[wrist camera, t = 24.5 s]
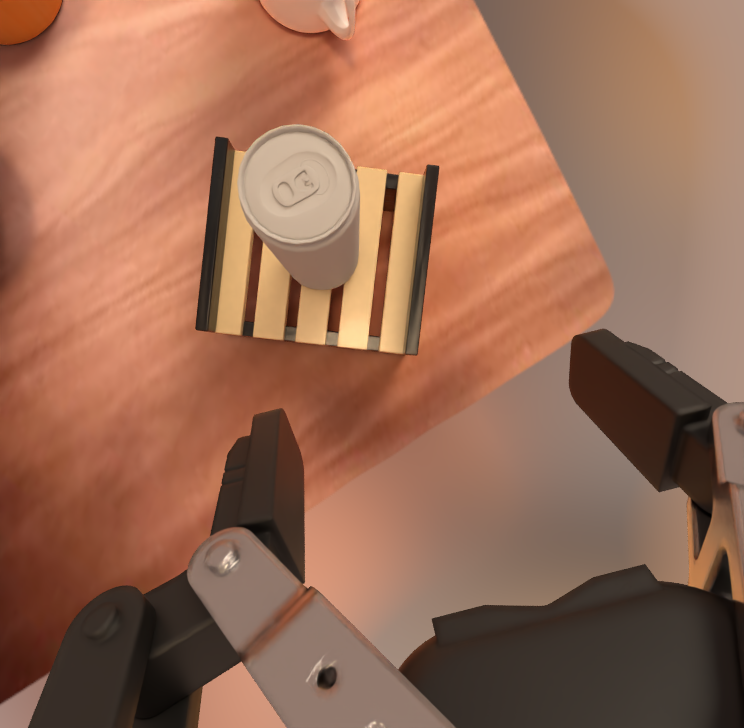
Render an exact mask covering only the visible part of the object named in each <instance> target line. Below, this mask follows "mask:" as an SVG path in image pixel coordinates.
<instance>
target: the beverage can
mask: <svg viewBox="0 0 744 728" xmlns="http://www.w3.org/2000/svg"><path fill="white" fill-rule="evenodd" d="M237 186H238V194H239V199H240V204H241V208H242V210H243V213H244V215H245V218H246V220H247V222H248V223H249V224H250V226H251V227H252V228H253V230H254V231H255V232H256V234H257V235H258V236H259V237H260V239H261V240H262V241H263V242H264V243H265V245H266V246H267V247H268V248H269V249H270V251H271V252H272V253H273V254H274V255H275V257H276V258H277V259H278V260H279V261H280V263H281V264H282V265H283V266H284V267H285V269H286V270H287V271H288V272H289V273H290V275H291V276H292V277H293V278H294V279H295V280H296V281H297V282H299V283H300V284H301V285H303V286H306V287H308V288H311V289H318V290H328V289H333V288H336V287H339V286H341V285H342V284H344V283H345V282H347V281H348V280H349V278H350V277H351V276H352V275H353V273H354V271H355V269H356V266H357V263H358V257H359V225H360V189H359V180H358V176H357V173H356V171H355V168H354V165H353V163H352V161H351V159H350V157H349V155H348V154H347V152H346V151H345V150H344V148H343V147H342V146H341V144H340V143H339V142H338V141H336V140H335V139H334V138H333V137H332V136H330V135H329V134H328V133H326V132H324V131H321V130H319V129H317V128H315V127H311V126H305V125H300V124H295V125H285V126H280V127H278V128H275V129H272V130H270V131H267V132H266V133H265V134H263V135H262V136H261V137H259V138H258V139H257V140H255V141H254V143H253V144H252V145H251V146H250V148H249V149H248V150H247V151H246V153H245V155H244V157H243V160H242V162H241V164H240V167H239V173H238V180H237Z"/></svg>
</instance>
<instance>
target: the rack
mask: <svg viewBox="0 0 744 728" xmlns="http://www.w3.org/2000/svg"><path fill="white" fill-rule="evenodd" d="M245 153H246V152H244V151H236V150H235V149H234V148H233V146H232V144H231V143H230V141H229V139H228V138H223V137H216V138H215V147H214V157H213V166H212V175H211V185H210V194H209V204H208V213H207V223H206V232H205V242H204V251H203V261H202V270H201V280H200V289H199V299H198V308H197V318H196V327H195V329H196V330H199V331H206V332H213V333H220V334H226V335H235V336H244V337H252V338H261V339H270V340H278V341H287V342H296V343H305V344H313V345H322V346H331V347H340V348H348V349H357V350H366V351H374V352H383V353H392V354H401V355H417V354H418V346H419V338H420V329H421V321H422V312H423V303H424V295H425V286H426V278H427V269H428V260H429V252H430V243H431V235H432V226H433V217H434V209H435V200H436V192H437V183H438V175H439V166H436V165H427V166H426V169H425V172H424V174H423V175H419V174H411V173H404V172H399V175H394V174H387V170H382V169H375V168H367V167H360V166H358V167H357V170H356V169H355V171H356V173H357V176H358V180H359V189H360V225H359V257H358V263H357V266H356V269H355V271H354V273H353V275H352V276H351V277H350V278H349V280H348V281H347V282H345V283H344V289H343V298H342V307H341V316H340V325H339V332H334V331H327V329H328V320H329V312H330V303H331V294H332V289H328V290H318V289H311V288H308V287H306V286H303V285H301V293H300V302H299V311H298V320H297V327H291V326H286V323H287V314H288V305H289V295H290V286H291V277H292V276H291V275H290V273H289V272H288V271H287V270H286V269H285V267H284V266H283V265H282V264H281V263H280V261H279V260H278V259H277V258H276V257H275V255H274V254H273V253H272V252H271V251H270V249H269V248H268V247H267V246H266V245H265V243H264V242H263V247H262V257H261V266H260V275H259V284H258V293H257V303H256V312H255V321H254V322H248V321H245V312H246V303H247V293H248V284H249V275H250V266H251V256H252V247H253V238H254V230H253V228H252V227H251V226H250V224H249V223H248V222H247V220H246V218H245V215H244V213H243V210H242V208H241V204H240V199H239V194H238V186H237V180H238V173H239V167H240V164H241V162H242V160H243V157H244V155H245ZM383 210H386V211H394V218H393V227H392V236H391V244H390V253H389V262H388V270H387V279H386V288H385V297H384V305H383V314H382V323H381V332H380V337H377V336H369V326H370V317H371V309H372V300H373V291H374V282H375V274H376V265H377V256H378V247H379V238H380V230H381V221H382V212H383Z"/></svg>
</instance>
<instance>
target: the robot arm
mask: <svg viewBox="0 0 744 728" xmlns="http://www.w3.org/2000/svg"><path fill="white" fill-rule="evenodd" d="M569 388H570V392H571V395H572V397H573V399H574V401H575V402H576V404H577V405H578V406H579V407H580V408H581V409H582V410H583V411H584V412H585V413H586V414H587V416H589V418H590V419H591V420H592V421H593V422H594V423H595V424H596V425H597V426H598V427H599V428H600V430H601V431H602V432H603V433H604V434H605V435H606V436H607V437H608V438H609V439H610V440H611V441H612V442H613V443H614V444H615V446H616V447H617V448H618V449H619V450H620V451H621V452H622V453H623V454H624V455H625V456H626V457H627V459H628V460H629V461H630V462H631V463H632V464H633V465H634V466H635V467H636V468H637V469H638V470H639V471H640V472H641V474H642V475H643V476H645V478H646V479H647V480H648V481H649V482H650V483H651V484H652V485H653V486H654V488H655V489H657V491H658V492H662V491H666V490H669V489H673V488H677V487H680V488H681V489H682V490H683V491H684V492H685V493H686V494H687V495H688V501H687V525H688V551H689V580H688V585H684V584H679V583H672V582H664V581H657V579H656V578H655V577H654V575H653V574H652V573H651V571H650V570H649V569H648V567H647V566H646V565H645V564H644V565H640V566H636V567H632V568H628V569H624V570H620V571H616V572H612V573H608V574H605V575H601V576H597V577H593V578H591V579H590V580H588V581H586V582H585V583H583V584H582V585H580V586H579V587H577V588H575V589H573V590H572V591H570V592H568V593H567V594H565V595H564V596H562V597H560V598H559V599H557V600H556V601H554V602H552V603H550V604H548V605H545V606H503V605H500V606H499V605H498V606H497V605H483V606H479V607H475V608H472V609H468V610H464V611H460V612H456V613H452V614H448V615H444V616H440V617H437V618H433V619H432V622H433V627H434V631H435V636H434V637H432V638H430V639H429V640H427V641H425V642H424V643H423V644H422V645H421V646H419V647H418V648H417V649H416V650H414V651H413V653H412V654H411V655H410V656H409V657H408V658H407V659H406V660H405V661H404V663H403V664H402V665H401V667H400V668H399V669H396V667H394V666H393V664H392V663H391V662H390V661H389V660H388V659H386V658H385V657H384V655H382V654H381V653H380V651H379V650H378V649H377V648H376V647H375V646H374V645H372V643H370V641H369V640H368V639H367V638H365V636H364V635H363V634H362V633H361V632H360V631H359V630H357V628H356V627H355V626H354V625H353V624H351V622H350V621H349V620H348V619H347V618H346V617H345V616H343V615H342V613H341V612H339V610H338V609H336V608H335V607H334V606H333V605H332V604H331V603H330V602H329V601H328V600H327V599H326V598H325V597H324V596H323V595H322V594H321V593H320V592H319V591H318V590H316V589H315V588H314V587H311V586H310V587H309V588H306V587H305V586H304V585H303V584H304V583H305V546H304V545H305V544H304V543H305V542H304V541H305V537H304V466H303V460H302V456H301V452H300V449H299V447H298V444H297V442H296V439H295V436H294V434H293V431H292V429H291V426H290V424H289V421H288V418H287V416H286V413H285V411H284V410H283V409H282V408H280V409H276V410H272V411H268V412H264V413H260V414H256V415H254V417H253V422H252V428H251V435H249V436H245V437H241V438H238V440H237V441H236V443H235V444H234V446H233V447H232V448H231V450H230V451H229V453H228V455H227V460H226V465H225V469H224V470H225V473H224V474H223V479H222V486H221V488H220V492H219V497H218V502H217V506H216V511H215V516H214V520H213V525H212V530H211V534H210V537H209V538H208V539H206V540H205V541H204V542H203V543H202V544H201V545H200V546H199V547H198V548H197V550H196V551H195V553H194V554H193V556H192V558H191V560H190V562H189V565H188V569H187V570H185V571H184V572H183V573H181V574H180V575H178V576H177V577H175V578H173V579H171V580H170V581H168V582H166V583H164V584H162V585H160V586H159V587H157V588H155V589H153V590H151V591H149V592H148V593H146V594H144V595H143V594H142V593H141V592H140V591H139V590H138V589H137V588H135V587H133V586H119V587H115V588H112V589H110V590H108V591H106V592H104V593H102V594H100V595H99V596H97V597H96V598H94V599H93V600H92V601H91V602H89V603H88V604H87V605H86V606H85V607H84V608H83V609H82V610H81V611H80V612H79V613H78V615H77V616H76V617H75V619H74V620H73V621H72V623H71V624H70V626H69V628H68V630H67V632H66V634H65V636H64V639H63V641H62V644H61V646H60V649H59V651H58V654H57V656H56V659H55V661H54V664H53V666H52V669H51V671H50V674H49V676H48V679H47V681H46V684H45V686H44V689H43V691H42V694H41V697H40V699H39V701H38V704H37V706H36V709H35V711H34V714H33V716H32V719H31V721H30V724H29V727H28V728H198V720H199V712H200V703H201V695H202V687H203V686H204V685H205V684H207V683H208V682H210V681H211V680H213V679H215V678H216V677H218V676H219V675H221V674H222V673H224V672H226V671H227V670H229V669H230V668H232V667H233V666H235V665H237V664H238V663H239V662H241V661H242V663H243V664H244V666H245V667H246V669H247V670H248V672H249V673H250V674H251V676H252V678H253V679H254V681H255V682H256V683H257V685H258V686H259V688H260V689H261V691H262V692H263V694H264V695H265V697H266V698H267V700H268V701H269V702H270V704H271V705H272V707H273V708H274V710H275V711H276V713H277V714H278V716H279V717H280V719H281V720H282V722H283V723H284V724H285V726H286V727H287V728H744V402H735V403H727V402H725V401H724V400H722V399H721V398H720V397H718V396H717V395H715V394H714V393H712V392H711V391H709V390H708V389H707V388H705V387H703V386H702V385H701V384H699V383H698V382H696V381H695V380H693V379H692V378H691V377H689V376H688V375H686V374H685V373H683V372H682V371H678V369H677V368H676V367H675V366H673V365H672V364H670V363H669V362H665V360H664V359H663V358H662V357H660V356H659V355H657V354H656V353H655V352H653V351H652V350H650V349H648V348H645V347H642V346H640V345H637V344H634V343H631V342H624V341H622V340H621V339H619V338H618V337H617V336H615V335H614V334H613V333H611V332H610V331H608V330H606V329H600V330H596V331H591V332H588V333H583V334H579V335H575V336H574V337H573V339H572V342H571V356H570V372H569Z"/></svg>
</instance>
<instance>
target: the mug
mask: <svg viewBox="0 0 744 728" xmlns="http://www.w3.org/2000/svg"><path fill="white" fill-rule="evenodd" d="M359 1H360V0H260V2H261V4H262V6H263V7H264V8H265V10H266V11H267V12H268V13H269V14H270V15H271V16H272V17H273V18H274V19H275V20H276V21H278V22H279V23H280V24H282V25H284V26H285V27H287V28H290V29H292V30H295V31H298V32H304V33H319V32H323V31H327V30H331V31H332V32H333V33H334V34H335V35H336V36H337V37H338V38H340V39H343V40H349V39H351V38H352V37H353V34H354V30H355V8H356V6H357V5H358V3H359ZM348 17H349V21H348Z"/></svg>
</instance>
